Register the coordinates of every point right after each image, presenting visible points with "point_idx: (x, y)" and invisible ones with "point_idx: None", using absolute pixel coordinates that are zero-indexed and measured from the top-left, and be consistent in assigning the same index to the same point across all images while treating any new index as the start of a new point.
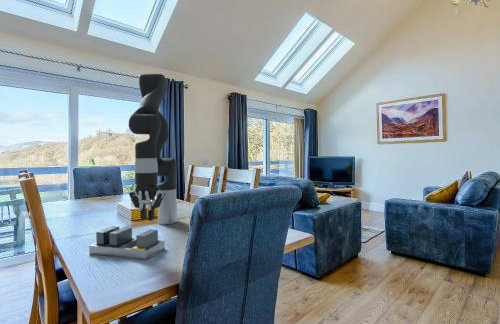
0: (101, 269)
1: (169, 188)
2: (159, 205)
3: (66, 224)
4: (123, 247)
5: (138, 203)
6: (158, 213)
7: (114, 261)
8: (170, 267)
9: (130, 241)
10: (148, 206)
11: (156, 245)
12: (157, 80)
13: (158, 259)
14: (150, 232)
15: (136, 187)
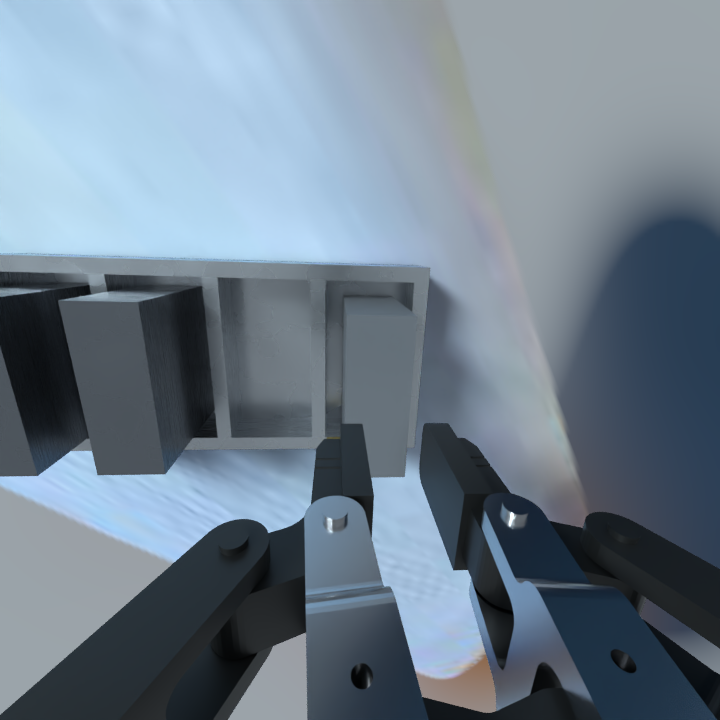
0: (276, 528)
1: None
2: (662, 554)
3: None
4: (231, 402)
5: (196, 598)
6: None
7: (264, 459)
8: (538, 454)
9: (210, 333)
10: (491, 634)
11: (421, 358)
12: None
13: (450, 396)
14: (399, 394)
15: None
